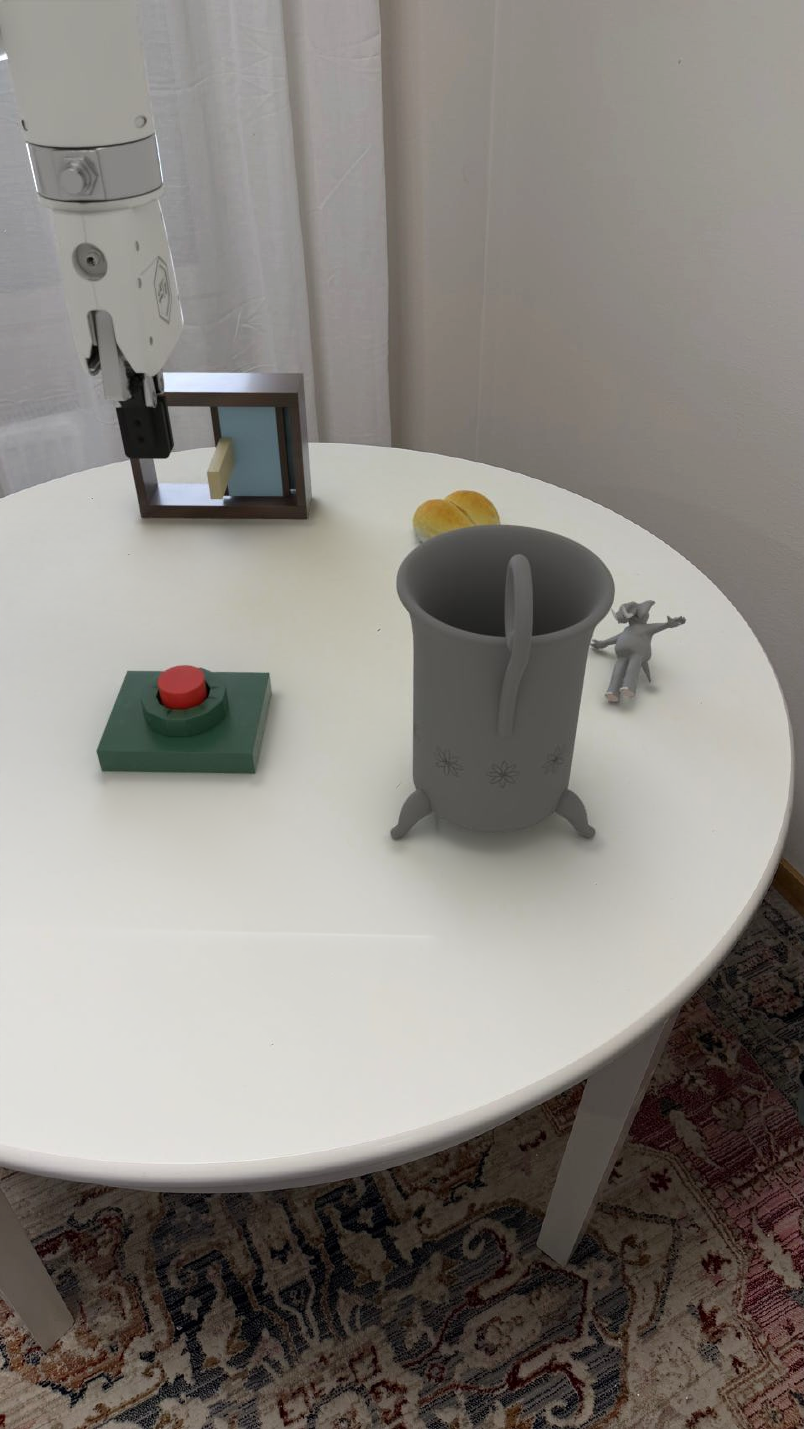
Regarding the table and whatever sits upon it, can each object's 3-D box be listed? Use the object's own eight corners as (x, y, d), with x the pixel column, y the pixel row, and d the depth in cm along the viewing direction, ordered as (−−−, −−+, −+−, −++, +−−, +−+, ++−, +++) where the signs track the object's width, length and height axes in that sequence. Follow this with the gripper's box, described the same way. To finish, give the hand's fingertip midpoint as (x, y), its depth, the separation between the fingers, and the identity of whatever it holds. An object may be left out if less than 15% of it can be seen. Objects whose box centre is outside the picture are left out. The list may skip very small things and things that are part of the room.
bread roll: (399, 528, 106) (398, 493, 104) (470, 506, 110) (471, 473, 107) (440, 563, 101) (441, 528, 98) (513, 540, 104) (516, 505, 102)
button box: (101, 771, 78) (91, 733, 76) (132, 690, 86) (123, 653, 83) (255, 774, 78) (249, 735, 75) (272, 692, 85) (267, 655, 83)
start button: (156, 710, 78) (152, 693, 77) (166, 681, 81) (162, 664, 80) (202, 711, 78) (199, 693, 77) (210, 682, 81) (207, 665, 80)
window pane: (209, 532, 102) (195, 436, 96) (222, 493, 109) (210, 400, 102) (281, 532, 102) (272, 436, 95) (291, 493, 108) (283, 401, 102)
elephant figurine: (552, 690, 86) (577, 606, 90) (596, 726, 88) (619, 643, 92) (646, 665, 78) (669, 574, 82) (691, 705, 81) (711, 615, 85)
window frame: (141, 517, 108) (116, 391, 99) (151, 495, 112) (128, 372, 103) (307, 519, 108) (297, 392, 99) (312, 496, 112) (303, 373, 103)
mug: (391, 724, 82) (385, 436, 66) (572, 723, 82) (610, 435, 66) (389, 906, 68) (381, 596, 52) (608, 904, 68) (669, 594, 52)
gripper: (129, 202, 55) (180, 504, 67) (184, 143, 66) (220, 410, 78) (-7, 202, 55) (69, 503, 67) (71, 144, 66) (124, 410, 78)
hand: (150, 453), depth 72 cm, fingers closed
